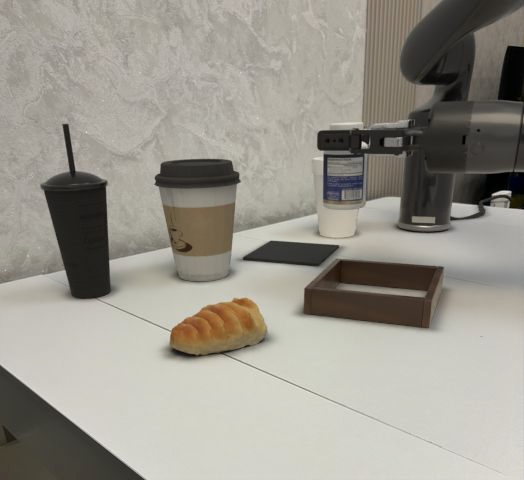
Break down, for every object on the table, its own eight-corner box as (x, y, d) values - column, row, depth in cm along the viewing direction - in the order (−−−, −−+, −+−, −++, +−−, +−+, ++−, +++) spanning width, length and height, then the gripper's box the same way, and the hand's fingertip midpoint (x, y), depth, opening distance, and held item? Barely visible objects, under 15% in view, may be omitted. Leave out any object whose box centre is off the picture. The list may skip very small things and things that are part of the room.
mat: (271, 242, 94) (270, 240, 94) (339, 247, 90) (339, 245, 90) (242, 259, 84) (242, 257, 84) (318, 266, 80) (318, 263, 79)
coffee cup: (146, 275, 77) (134, 163, 71) (207, 259, 84) (200, 156, 78) (200, 291, 69) (191, 167, 63) (261, 272, 77) (258, 160, 71)
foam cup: (316, 227, 104) (318, 155, 99) (365, 229, 102) (369, 155, 97) (306, 238, 96) (307, 160, 91) (359, 240, 94) (363, 160, 89)
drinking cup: (102, 280, 75) (80, 122, 67) (133, 291, 70) (112, 122, 62) (49, 293, 70) (18, 125, 62) (77, 306, 65) (47, 125, 57)
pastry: (193, 367, 49) (189, 327, 48) (156, 345, 54) (152, 308, 53) (273, 340, 55) (272, 303, 53) (233, 322, 59) (231, 288, 58)
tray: (335, 280, 73) (336, 258, 72) (441, 289, 68) (444, 266, 67) (303, 313, 61) (304, 288, 60) (429, 328, 57) (432, 300, 55)
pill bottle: (333, 202, 72) (334, 122, 68) (372, 204, 70) (376, 121, 66) (315, 209, 68) (316, 124, 64) (356, 211, 65) (359, 123, 61)
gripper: (480, 100, 65) (340, 104, 71) (474, 100, 53) (307, 105, 59) (472, 166, 68) (339, 165, 74) (465, 181, 56) (306, 178, 62)
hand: (325, 139), depth 66 cm, fingers closed on pill bottle, 5 cm apart
